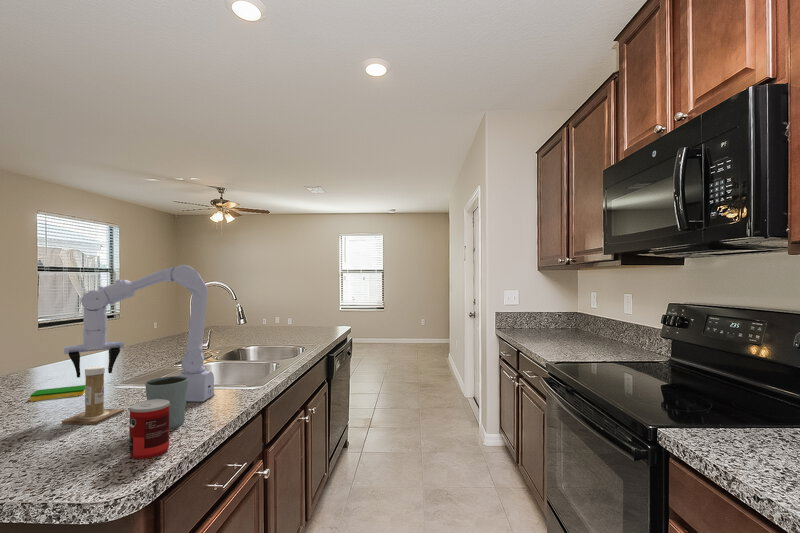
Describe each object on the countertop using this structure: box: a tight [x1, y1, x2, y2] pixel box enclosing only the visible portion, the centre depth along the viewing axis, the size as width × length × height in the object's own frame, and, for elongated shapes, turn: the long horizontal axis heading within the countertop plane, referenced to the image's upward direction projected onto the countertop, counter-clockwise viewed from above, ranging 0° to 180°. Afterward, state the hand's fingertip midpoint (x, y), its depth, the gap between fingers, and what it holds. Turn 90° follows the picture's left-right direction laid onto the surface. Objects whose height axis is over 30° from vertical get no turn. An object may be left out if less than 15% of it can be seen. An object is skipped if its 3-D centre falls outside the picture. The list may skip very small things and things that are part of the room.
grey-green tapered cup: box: [144, 375, 188, 430], centre depth 110 cm, size 10×10×12 cm
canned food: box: [128, 399, 170, 460], centre depth 92 cm, size 8×8×11 cm
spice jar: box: [84, 365, 106, 417], centre depth 115 cm, size 5×5×13 cm
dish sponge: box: [29, 384, 85, 402], centre depth 136 cm, size 7×14×2 cm, turn 118°
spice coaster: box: [61, 408, 125, 425], centre depth 115 cm, size 10×10×1 cm
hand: (94, 374), depth 122 cm, fingers open, 7 cm apart
